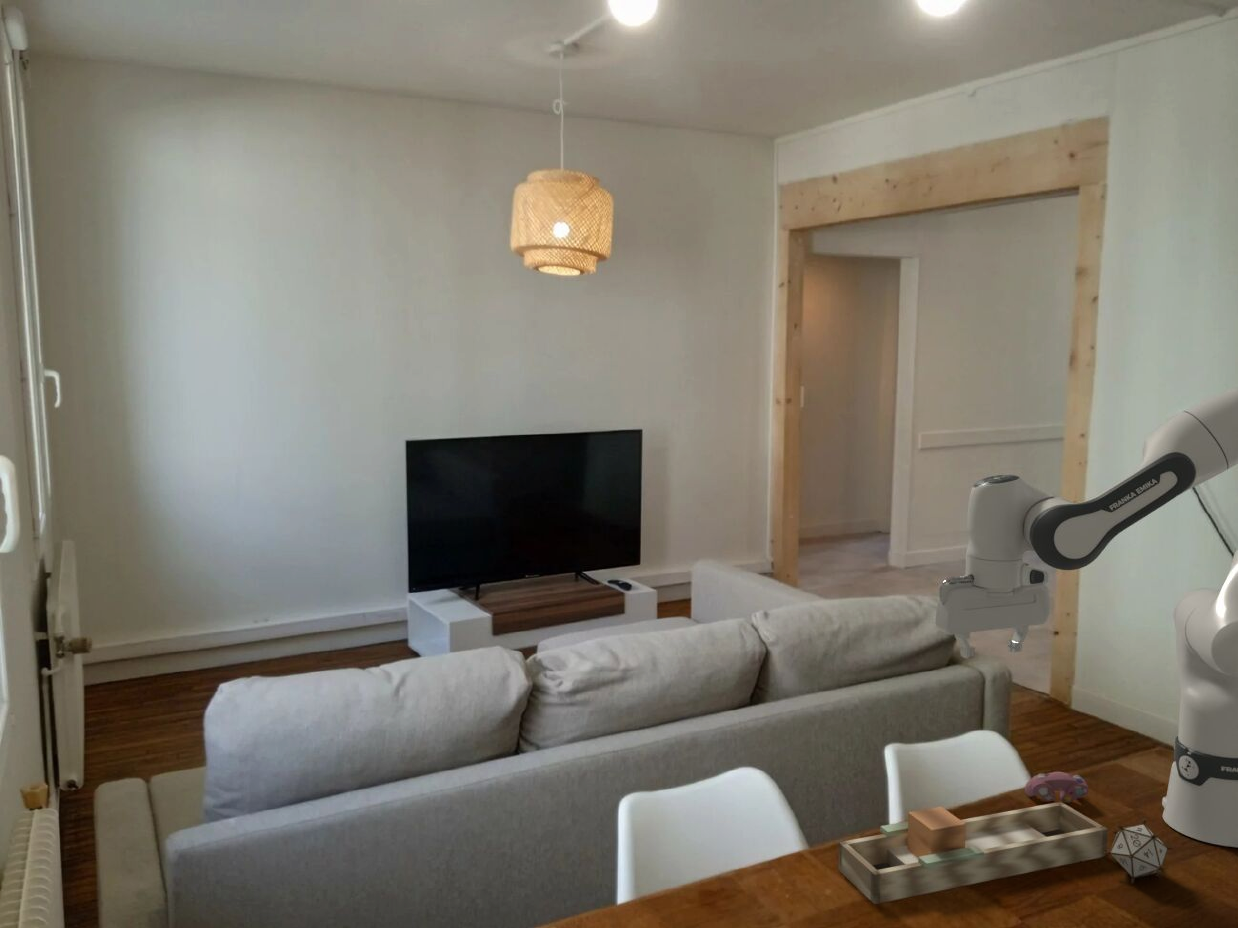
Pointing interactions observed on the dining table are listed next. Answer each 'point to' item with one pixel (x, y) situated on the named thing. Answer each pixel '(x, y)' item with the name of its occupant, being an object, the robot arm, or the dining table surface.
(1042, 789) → the video game controller
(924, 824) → the block
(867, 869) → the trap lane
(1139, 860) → the game die
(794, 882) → the dining table surface
